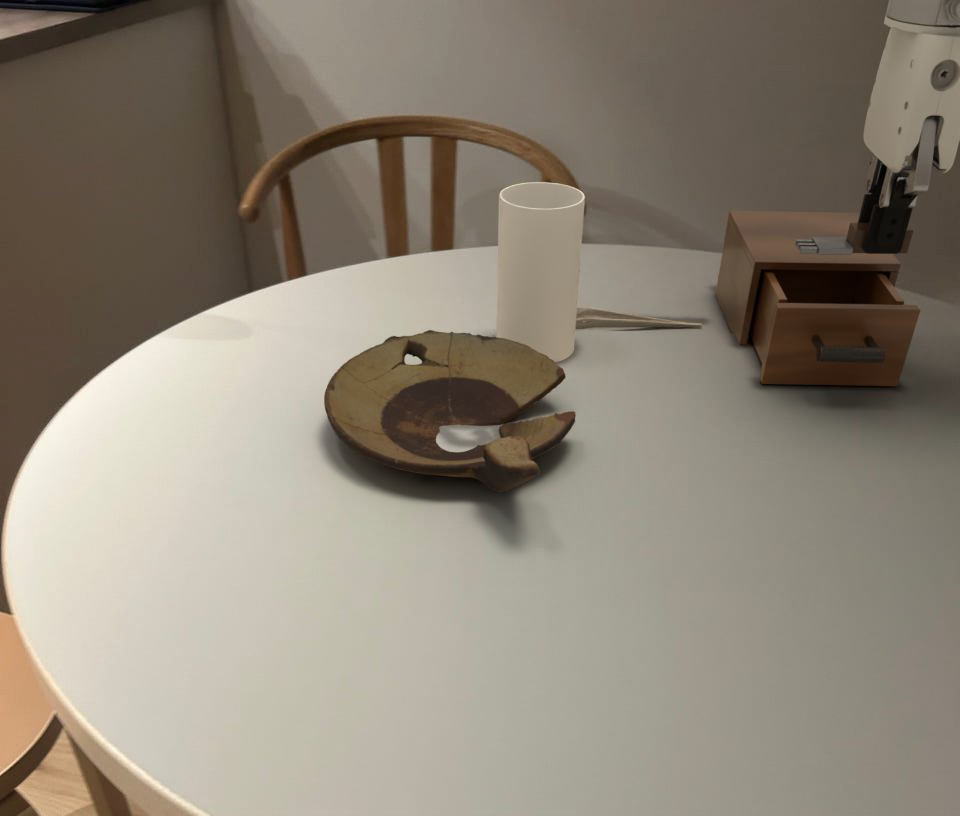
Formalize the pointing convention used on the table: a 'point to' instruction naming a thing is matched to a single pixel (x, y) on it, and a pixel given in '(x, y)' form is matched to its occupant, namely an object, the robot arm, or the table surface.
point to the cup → (539, 266)
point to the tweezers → (621, 320)
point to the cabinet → (781, 257)
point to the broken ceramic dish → (447, 405)
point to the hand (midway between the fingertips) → (876, 245)
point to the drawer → (831, 328)
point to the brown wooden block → (844, 242)
